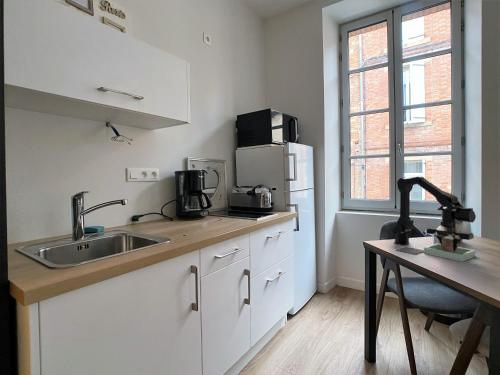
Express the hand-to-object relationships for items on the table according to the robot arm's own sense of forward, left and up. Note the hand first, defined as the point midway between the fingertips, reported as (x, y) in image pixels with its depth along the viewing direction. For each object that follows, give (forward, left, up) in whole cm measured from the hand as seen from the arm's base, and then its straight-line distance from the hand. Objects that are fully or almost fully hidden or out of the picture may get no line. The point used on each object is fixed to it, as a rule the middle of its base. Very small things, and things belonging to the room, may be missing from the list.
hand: (448, 249), depth 135 cm
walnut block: (0, 0, -2) cm, 2 cm away
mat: (-14, -9, -2) cm, 17 cm away
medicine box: (-10, +17, -3) cm, 20 cm away
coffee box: (-12, +33, -3) cm, 35 cm away
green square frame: (0, 0, -2) cm, 2 cm away
